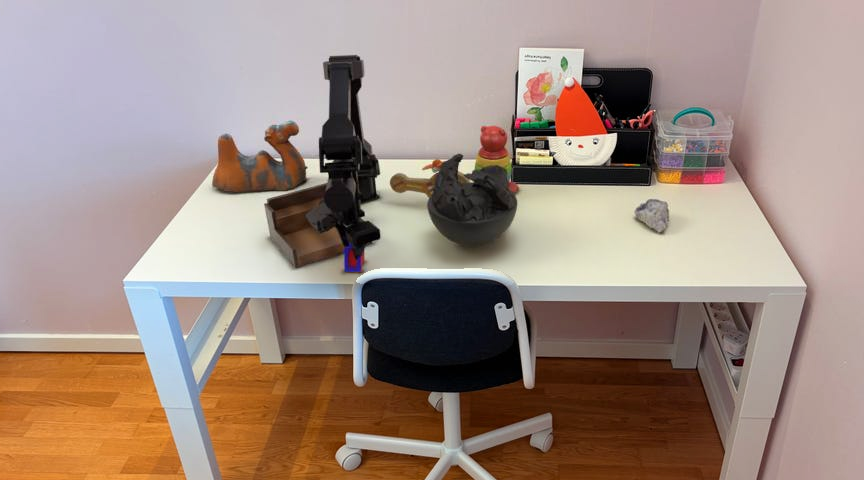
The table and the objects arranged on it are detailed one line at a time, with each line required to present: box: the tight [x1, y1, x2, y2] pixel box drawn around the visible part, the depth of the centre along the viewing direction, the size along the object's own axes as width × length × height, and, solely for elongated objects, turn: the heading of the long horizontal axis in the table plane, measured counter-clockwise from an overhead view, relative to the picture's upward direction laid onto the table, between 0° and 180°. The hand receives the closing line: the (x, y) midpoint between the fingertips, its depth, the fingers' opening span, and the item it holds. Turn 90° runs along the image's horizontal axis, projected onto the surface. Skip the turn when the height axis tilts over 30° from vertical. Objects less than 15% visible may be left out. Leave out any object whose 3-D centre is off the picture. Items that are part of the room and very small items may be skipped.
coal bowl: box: [426, 153, 518, 247], centre depth 162 cm, size 20×20×19 cm
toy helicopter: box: [389, 158, 471, 199], centre depth 178 cm, size 8×21×14 cm, turn 72°
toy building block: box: [343, 243, 366, 273], centre depth 158 cm, size 4×4×8 cm
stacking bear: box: [474, 125, 520, 195], centre depth 183 cm, size 11×10×18 cm
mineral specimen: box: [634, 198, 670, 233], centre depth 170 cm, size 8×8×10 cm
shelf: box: [263, 182, 373, 269], centre depth 166 cm, size 19×16×10 cm
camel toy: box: [211, 120, 309, 194], centre depth 190 cm, size 25×13×17 cm, turn 82°
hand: (352, 253), depth 158 cm, fingers closed on toy building block, 5 cm apart
